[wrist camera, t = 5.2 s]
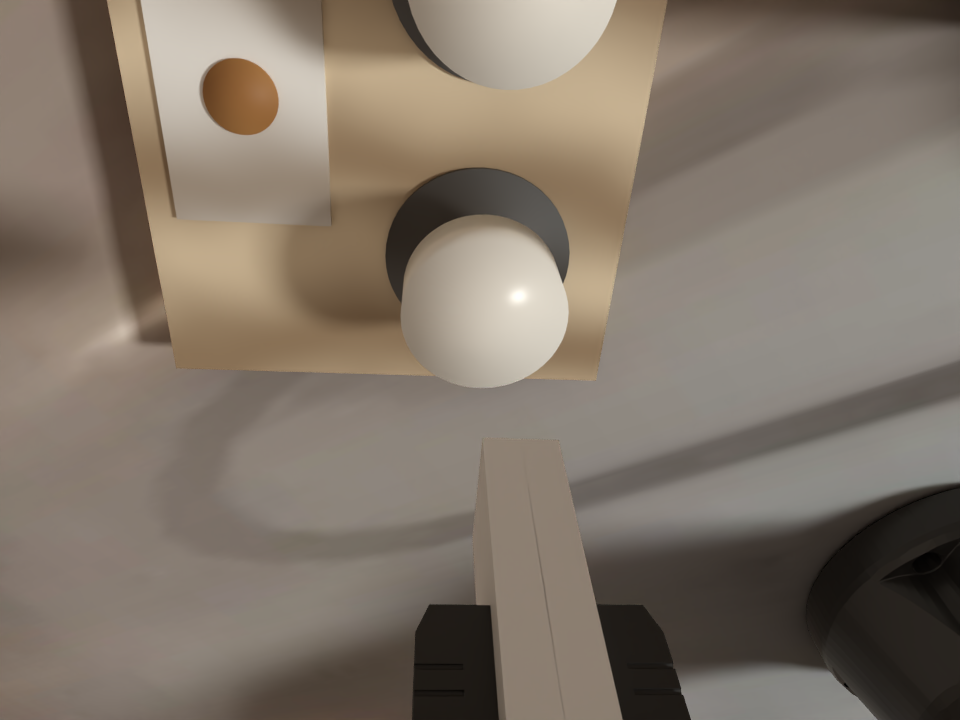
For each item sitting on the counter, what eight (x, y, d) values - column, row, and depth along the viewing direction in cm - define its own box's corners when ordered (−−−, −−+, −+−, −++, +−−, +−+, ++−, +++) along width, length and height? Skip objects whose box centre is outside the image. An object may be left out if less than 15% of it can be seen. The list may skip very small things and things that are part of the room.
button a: (548, 357, 24) (557, 390, 23) (402, 352, 24) (399, 385, 22) (568, 218, 22) (579, 244, 20) (403, 210, 21) (401, 236, 19)
